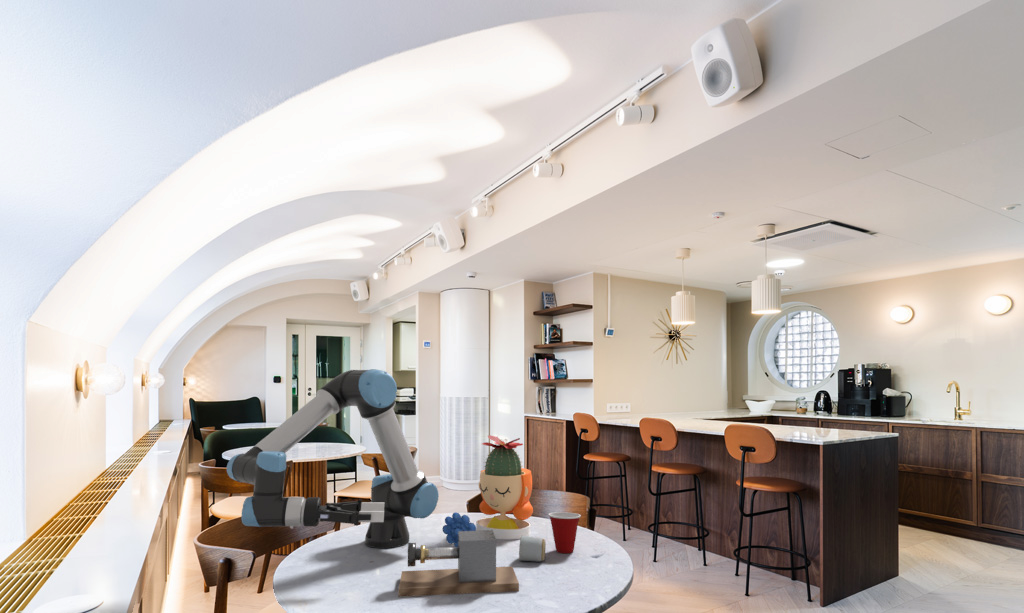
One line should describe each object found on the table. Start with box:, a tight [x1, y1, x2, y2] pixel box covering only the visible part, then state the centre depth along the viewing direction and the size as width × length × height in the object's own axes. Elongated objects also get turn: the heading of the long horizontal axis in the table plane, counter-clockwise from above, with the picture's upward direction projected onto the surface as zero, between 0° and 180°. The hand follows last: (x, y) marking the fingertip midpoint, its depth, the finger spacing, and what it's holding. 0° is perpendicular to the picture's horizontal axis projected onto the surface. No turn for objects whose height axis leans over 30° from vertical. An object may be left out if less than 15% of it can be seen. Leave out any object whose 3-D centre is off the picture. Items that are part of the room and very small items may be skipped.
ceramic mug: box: [518, 535, 547, 563], centre depth 185 cm, size 10×8×7 cm
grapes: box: [442, 511, 476, 547], centre depth 195 cm, size 12×7×12 cm, turn 88°
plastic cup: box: [548, 511, 582, 554], centre depth 194 cm, size 11×11×12 cm
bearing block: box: [457, 530, 497, 583], centre depth 164 cm, size 10×10×11 cm
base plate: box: [398, 566, 520, 598], centre depth 163 cm, size 32×14×2 cm, turn 97°
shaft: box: [407, 542, 459, 568], centre depth 163 cm, size 18×6×6 cm, turn 97°
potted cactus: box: [475, 435, 534, 540], centre depth 220 cm, size 22×22×35 cm
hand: (384, 511), depth 163 cm, fingers open, 13 cm apart
